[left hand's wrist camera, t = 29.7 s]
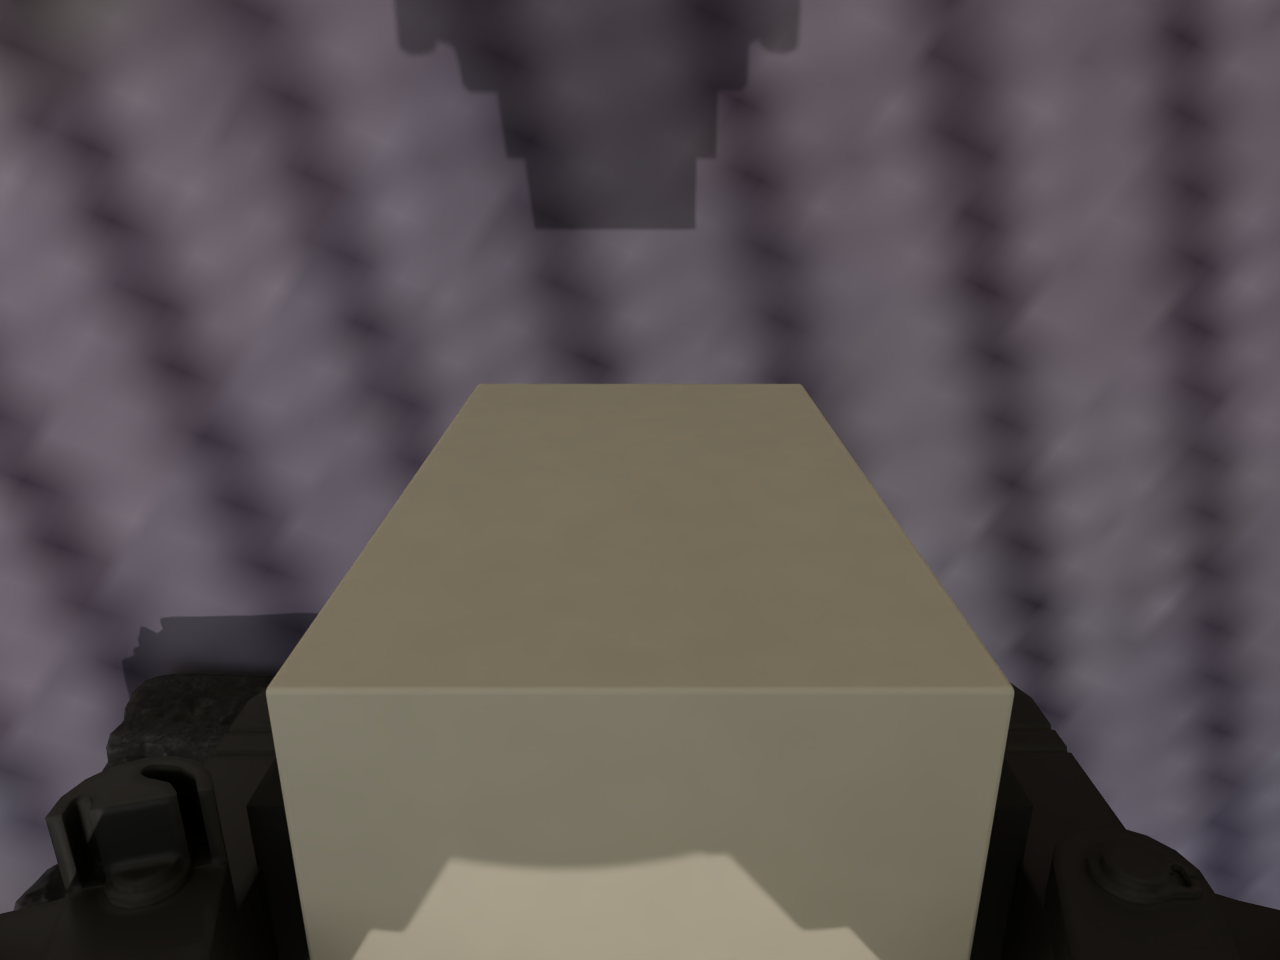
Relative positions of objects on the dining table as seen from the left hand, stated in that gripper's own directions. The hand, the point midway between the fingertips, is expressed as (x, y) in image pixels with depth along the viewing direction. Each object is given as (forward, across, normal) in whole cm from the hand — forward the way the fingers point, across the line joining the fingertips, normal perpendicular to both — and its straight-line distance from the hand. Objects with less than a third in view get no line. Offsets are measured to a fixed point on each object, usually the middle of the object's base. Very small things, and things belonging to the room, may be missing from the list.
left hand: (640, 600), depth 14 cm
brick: (+2, 0, 0) cm, 2 cm away
